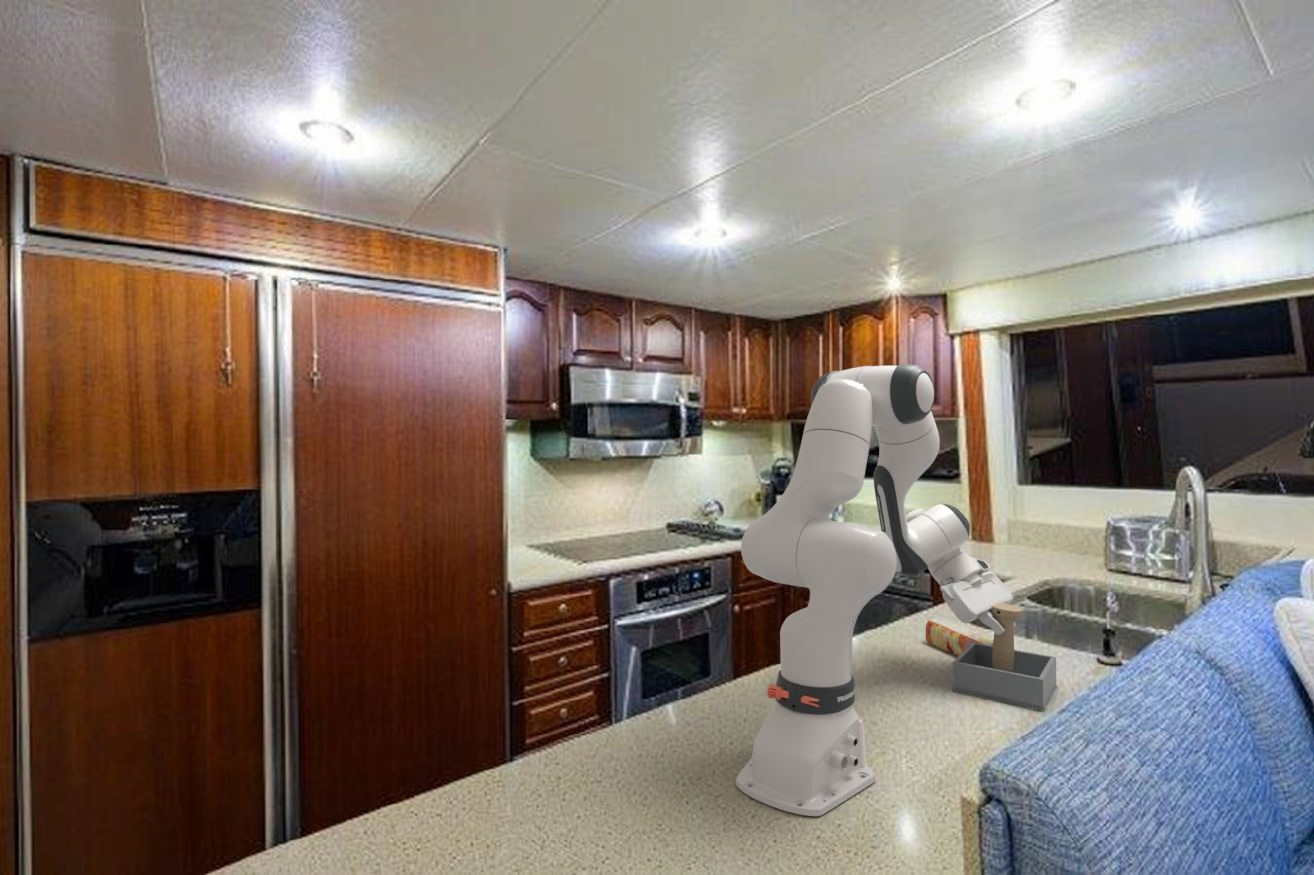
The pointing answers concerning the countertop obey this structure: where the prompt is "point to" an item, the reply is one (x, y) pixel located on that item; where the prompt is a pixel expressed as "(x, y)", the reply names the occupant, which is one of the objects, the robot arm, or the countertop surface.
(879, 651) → the countertop surface
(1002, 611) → the handle
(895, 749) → the countertop surface
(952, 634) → the snack package
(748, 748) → the countertop surface
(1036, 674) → the box
